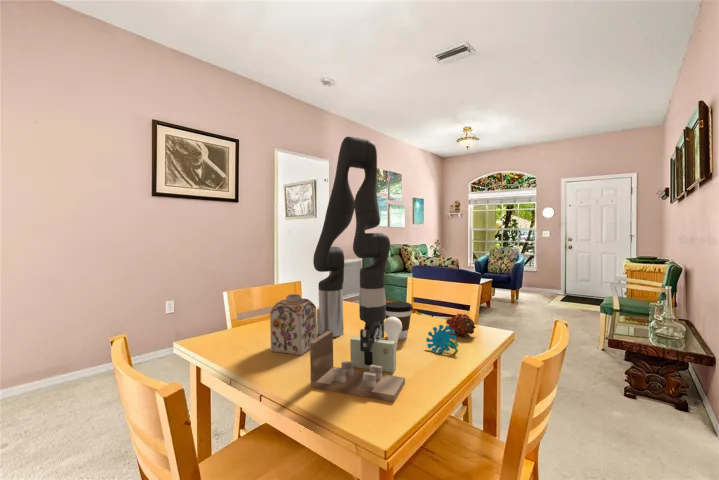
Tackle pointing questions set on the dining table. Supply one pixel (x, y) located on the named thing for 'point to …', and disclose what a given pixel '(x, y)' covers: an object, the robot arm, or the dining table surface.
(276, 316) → the decorative jar
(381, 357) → the door
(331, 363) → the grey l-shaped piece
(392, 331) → the lightbulb
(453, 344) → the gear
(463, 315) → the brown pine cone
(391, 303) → the coffee cup
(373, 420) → the dining table surface
